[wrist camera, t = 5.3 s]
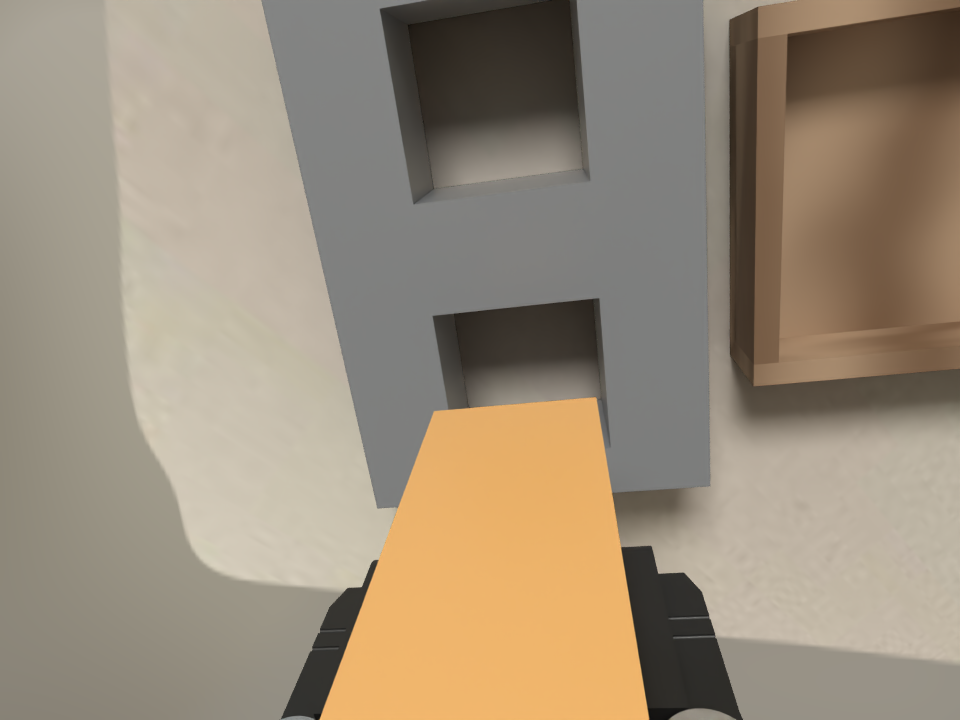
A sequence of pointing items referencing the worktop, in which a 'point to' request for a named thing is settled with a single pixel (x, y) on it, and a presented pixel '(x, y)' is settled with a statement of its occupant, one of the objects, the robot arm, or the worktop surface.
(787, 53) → the tray
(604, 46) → the cinder block
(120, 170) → the worktop surface
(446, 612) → the plug
